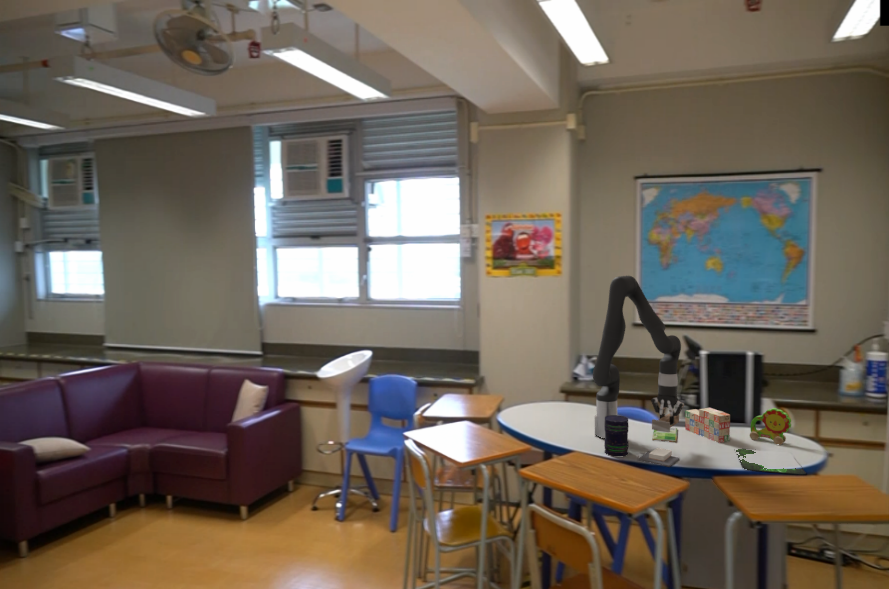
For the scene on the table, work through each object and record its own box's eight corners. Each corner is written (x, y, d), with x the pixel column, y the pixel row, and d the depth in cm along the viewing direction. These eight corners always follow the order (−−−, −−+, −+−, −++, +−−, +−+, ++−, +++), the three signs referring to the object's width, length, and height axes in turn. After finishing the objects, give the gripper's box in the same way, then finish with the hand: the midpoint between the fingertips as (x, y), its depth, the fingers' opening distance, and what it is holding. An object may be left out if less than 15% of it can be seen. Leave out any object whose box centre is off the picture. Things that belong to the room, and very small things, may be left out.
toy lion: (748, 439, 270) (749, 406, 269) (753, 436, 274) (753, 403, 273) (788, 447, 259) (788, 412, 258) (792, 444, 263) (792, 409, 262)
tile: (657, 452, 255) (649, 458, 248) (657, 447, 255) (649, 453, 248) (671, 455, 251) (663, 461, 244) (671, 450, 251) (663, 456, 244)
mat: (637, 460, 248) (637, 458, 248) (648, 452, 256) (648, 451, 256) (669, 466, 240) (669, 465, 239) (679, 459, 248) (679, 457, 248)
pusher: (667, 419, 264) (667, 410, 264) (683, 422, 260) (683, 413, 259) (651, 429, 251) (652, 419, 251) (668, 432, 247) (669, 423, 246)
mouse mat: (733, 448, 260) (733, 446, 260) (791, 452, 253) (791, 450, 253) (743, 471, 234) (743, 468, 234) (807, 476, 227) (807, 474, 227)
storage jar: (604, 448, 263) (603, 414, 262) (627, 449, 261) (627, 415, 260) (604, 456, 253) (604, 421, 252) (629, 457, 251) (629, 422, 250)
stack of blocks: (684, 429, 287) (684, 404, 286) (695, 428, 289) (695, 402, 288) (718, 443, 267) (719, 415, 266) (730, 441, 269) (730, 414, 268)
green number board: (652, 441, 272) (676, 443, 269) (652, 438, 272) (676, 440, 269) (654, 428, 291) (677, 430, 287) (654, 425, 291) (677, 427, 287)
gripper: (647, 382, 255) (647, 422, 256) (681, 387, 245) (680, 429, 247) (654, 379, 260) (653, 418, 262) (688, 384, 251) (687, 425, 253)
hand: (666, 423), depth 254 cm, fingers closed on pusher, 3 cm apart
